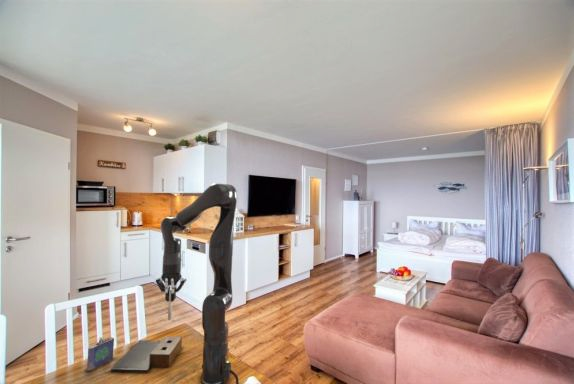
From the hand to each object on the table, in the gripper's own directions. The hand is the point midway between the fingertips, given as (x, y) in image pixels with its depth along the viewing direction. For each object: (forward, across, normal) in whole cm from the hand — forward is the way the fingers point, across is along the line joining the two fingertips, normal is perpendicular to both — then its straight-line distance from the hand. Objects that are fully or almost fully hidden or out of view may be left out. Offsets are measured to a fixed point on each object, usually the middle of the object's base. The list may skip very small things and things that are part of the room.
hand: (170, 300), depth 113 cm
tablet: (+23, -10, -3) cm, 25 cm away
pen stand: (+23, 0, -3) cm, 23 cm away
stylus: (+8, 0, 0) cm, 8 cm away
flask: (+23, -24, -9) cm, 34 cm away
